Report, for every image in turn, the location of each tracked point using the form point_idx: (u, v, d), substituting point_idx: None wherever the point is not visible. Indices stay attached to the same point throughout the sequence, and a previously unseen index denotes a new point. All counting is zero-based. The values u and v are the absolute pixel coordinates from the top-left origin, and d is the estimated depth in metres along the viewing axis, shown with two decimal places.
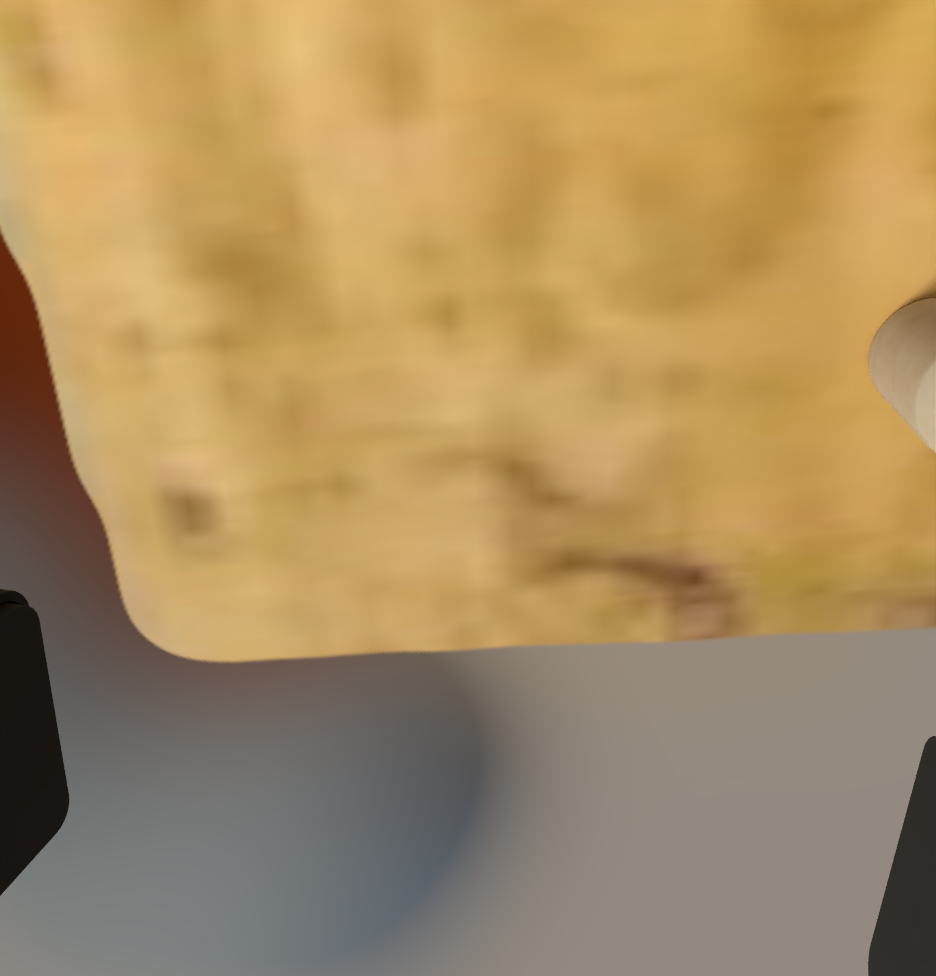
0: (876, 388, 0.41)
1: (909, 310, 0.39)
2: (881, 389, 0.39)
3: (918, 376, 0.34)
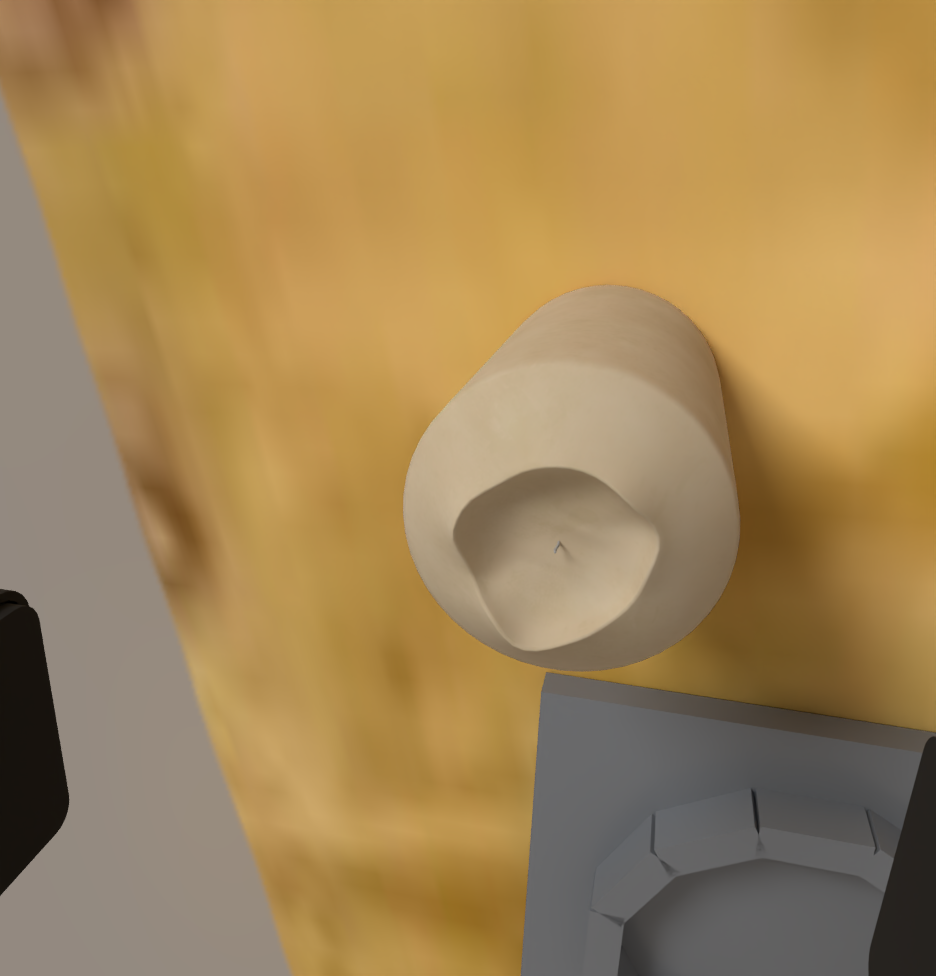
0: (543, 306, 0.21)
1: (705, 345, 0.19)
2: (549, 308, 0.19)
3: (621, 362, 0.13)
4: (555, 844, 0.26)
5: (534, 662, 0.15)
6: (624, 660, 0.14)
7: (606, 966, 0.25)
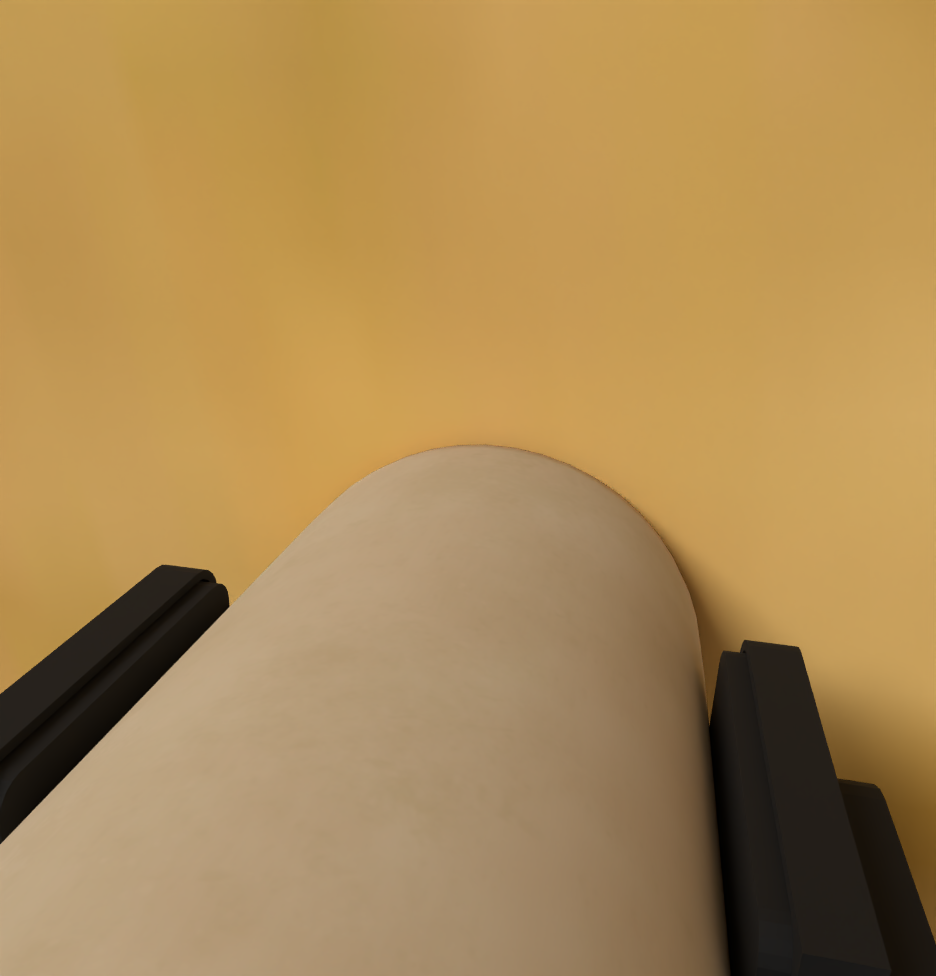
0: (354, 485, 0.11)
1: (670, 588, 0.09)
2: (330, 530, 0.09)
3: None
4: None
5: None
6: None
7: None
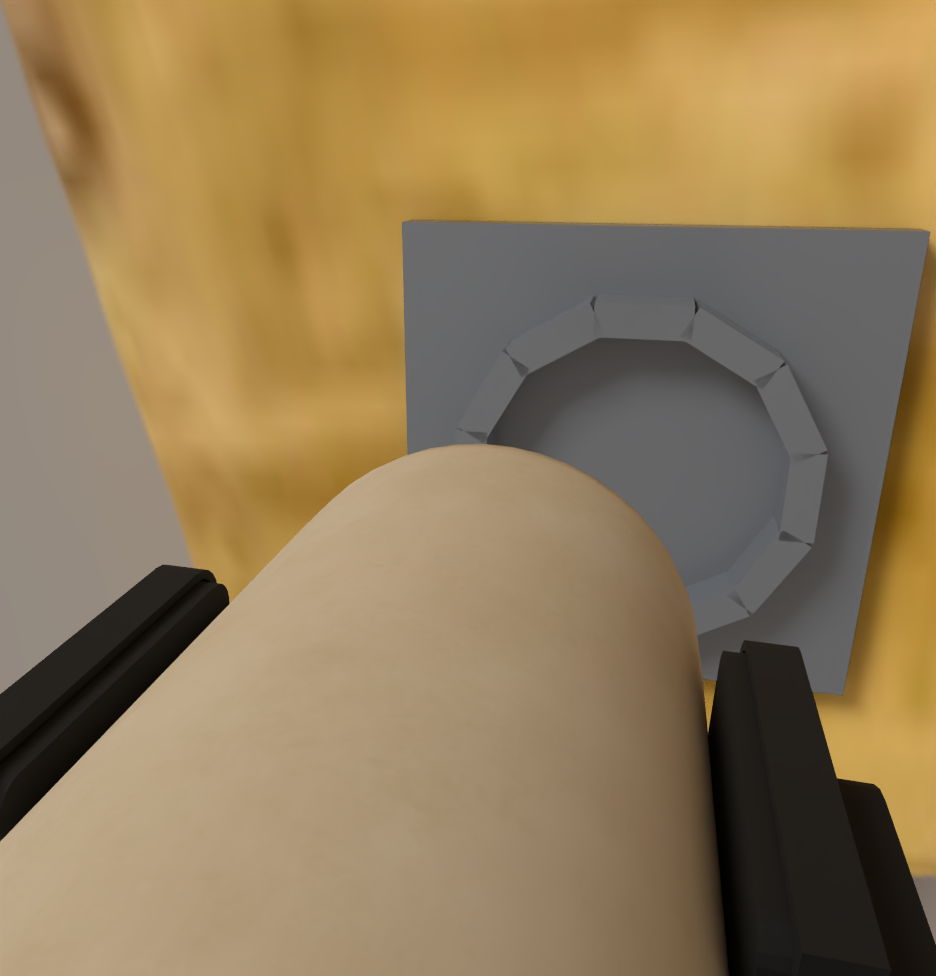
0: (351, 485, 0.11)
1: (668, 587, 0.09)
2: (327, 530, 0.09)
3: None
4: (428, 393, 0.28)
5: None
6: None
7: None
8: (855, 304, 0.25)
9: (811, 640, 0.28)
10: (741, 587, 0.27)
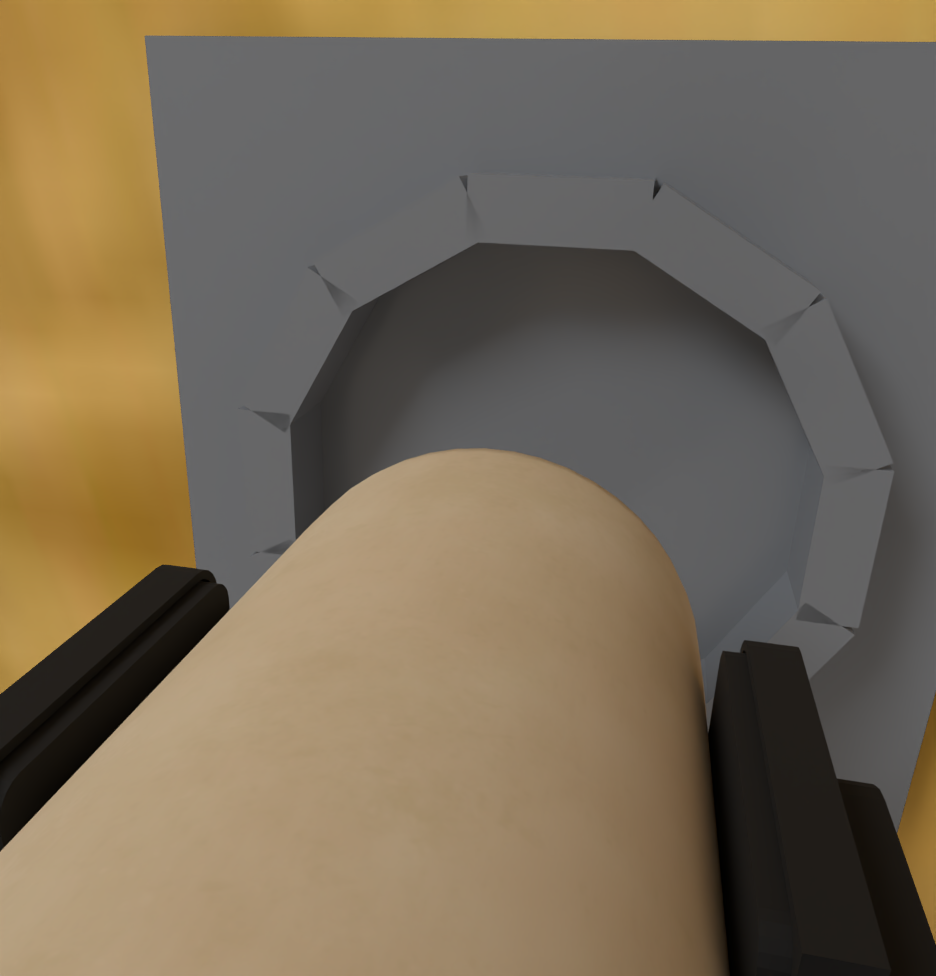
0: (352, 489, 0.11)
1: (669, 592, 0.09)
2: (328, 535, 0.09)
3: None
4: (210, 345, 0.17)
5: None
6: None
7: (277, 516, 0.16)
8: None
9: (841, 775, 0.17)
10: None
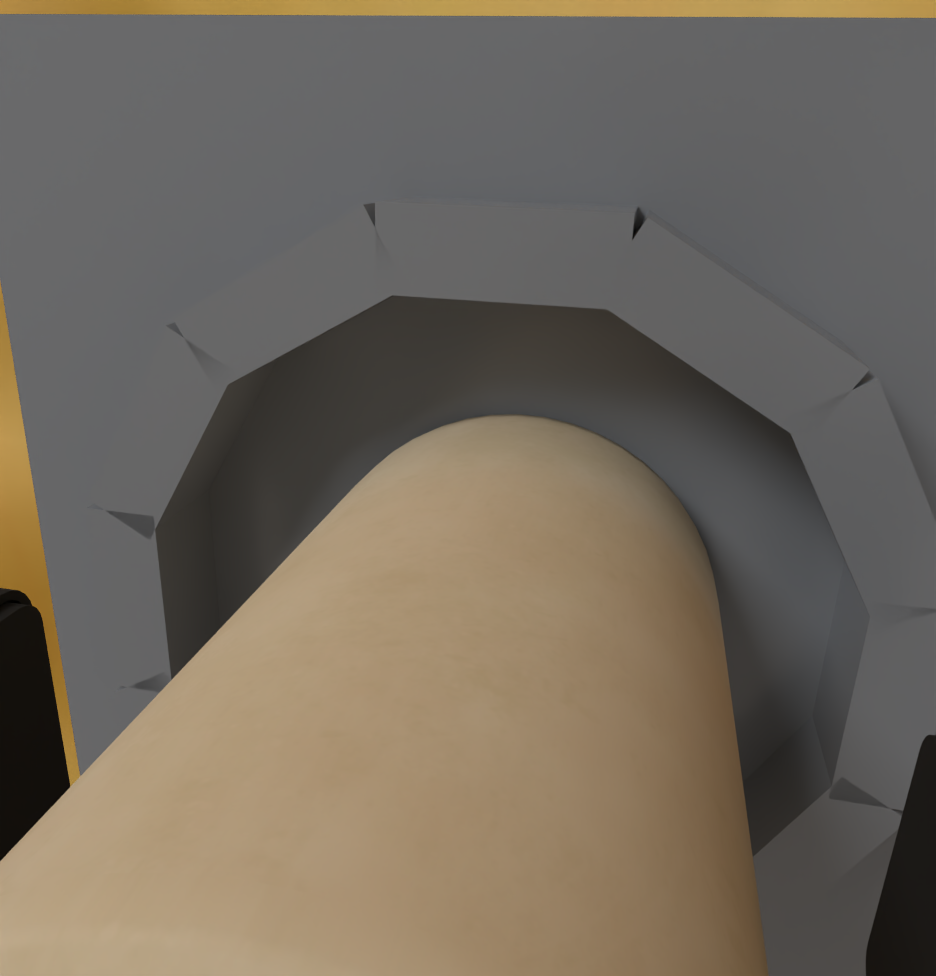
0: (395, 451, 0.11)
1: (692, 544, 0.10)
2: (382, 485, 0.09)
3: (426, 891, 0.04)
4: (66, 417, 0.13)
5: None
6: None
7: (145, 643, 0.12)
8: None
9: None
10: None
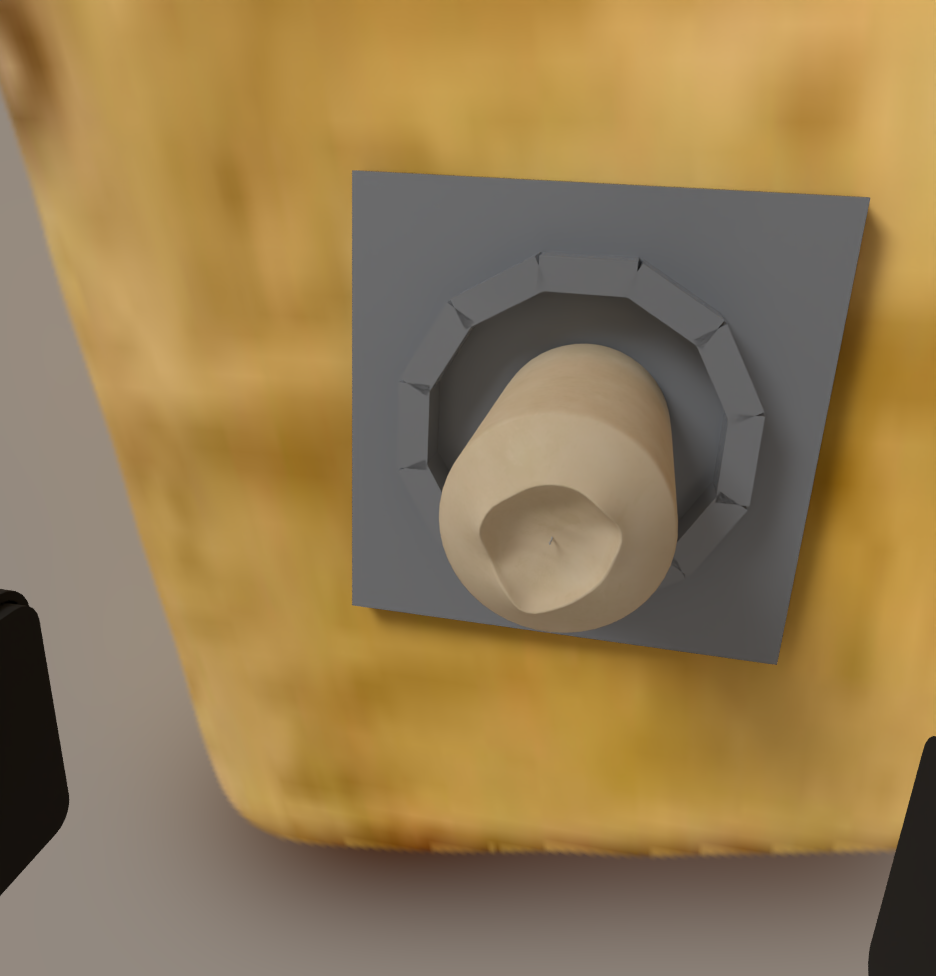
0: (534, 358, 0.27)
1: (659, 392, 0.25)
2: (540, 363, 0.25)
3: (596, 412, 0.19)
4: (374, 346, 0.28)
5: (532, 625, 0.20)
6: (596, 623, 0.20)
7: (417, 445, 0.27)
8: (796, 268, 0.25)
9: (747, 608, 0.29)
10: (678, 549, 0.27)
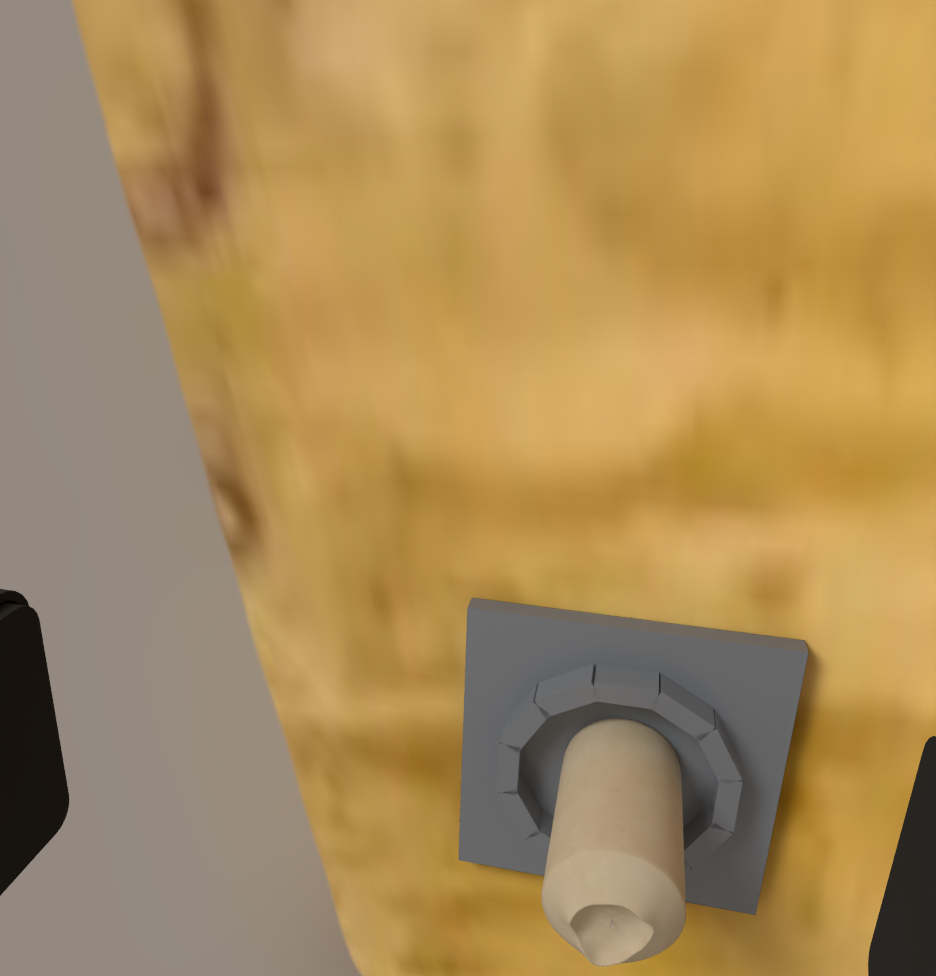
0: (589, 729, 0.40)
1: (673, 762, 0.39)
2: (596, 752, 0.38)
3: (637, 846, 0.33)
4: (479, 707, 0.42)
5: None
6: None
7: (510, 780, 0.41)
8: (762, 687, 0.38)
9: (734, 879, 0.42)
10: (686, 853, 0.40)
